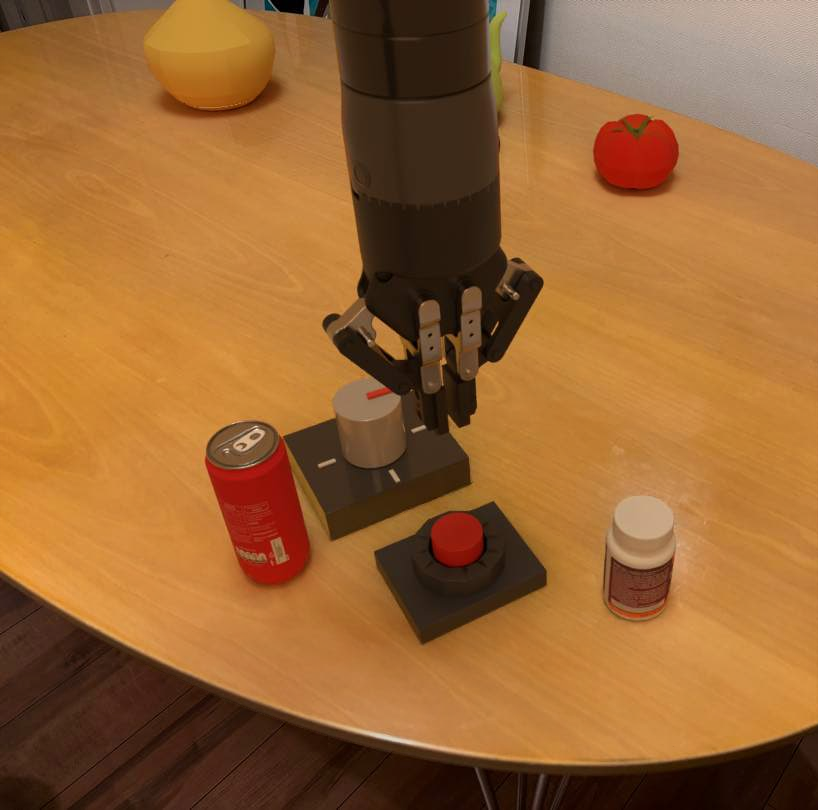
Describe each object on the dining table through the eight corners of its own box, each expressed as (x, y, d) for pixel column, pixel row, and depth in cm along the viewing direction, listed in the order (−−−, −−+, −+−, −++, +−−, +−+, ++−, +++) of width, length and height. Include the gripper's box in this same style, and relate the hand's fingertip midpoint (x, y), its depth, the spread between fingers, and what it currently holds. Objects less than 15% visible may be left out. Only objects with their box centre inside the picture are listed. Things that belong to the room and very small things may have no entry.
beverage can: (226, 568, 65) (184, 450, 58) (279, 524, 69) (246, 407, 61) (275, 600, 63) (238, 482, 55) (327, 554, 66) (299, 436, 59)
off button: (446, 575, 61) (444, 558, 60) (424, 540, 63) (422, 524, 62) (492, 554, 62) (491, 538, 61) (469, 521, 65) (468, 505, 64)
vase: (141, 123, 127) (98, -20, 115) (180, 77, 141) (145, -55, 129) (269, 123, 127) (239, -20, 115) (294, 76, 141) (271, -55, 129)
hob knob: (353, 477, 68) (344, 425, 65) (333, 436, 72) (323, 386, 69) (416, 455, 70) (410, 404, 67) (393, 417, 74) (386, 367, 70)
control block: (421, 645, 60) (417, 614, 58) (376, 566, 66) (370, 534, 63) (547, 585, 64) (547, 554, 62) (494, 515, 70) (493, 483, 67)
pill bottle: (680, 609, 63) (694, 530, 57) (620, 631, 61) (628, 552, 56) (648, 561, 66) (658, 482, 61) (591, 581, 65) (596, 501, 59)
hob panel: (331, 541, 67) (324, 512, 65) (288, 462, 74) (281, 434, 72) (471, 483, 72) (469, 455, 70) (419, 414, 79) (416, 387, 77)
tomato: (623, 154, 120) (627, 100, 115) (691, 179, 114) (698, 122, 109) (573, 181, 113) (575, 125, 109) (642, 208, 108) (647, 150, 103)
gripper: (506, 110, 49) (511, 358, 60) (268, 164, 44) (323, 425, 55) (578, 161, 44) (570, 421, 55) (321, 229, 39) (369, 501, 50)
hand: (447, 422), depth 55 cm, fingers closed
